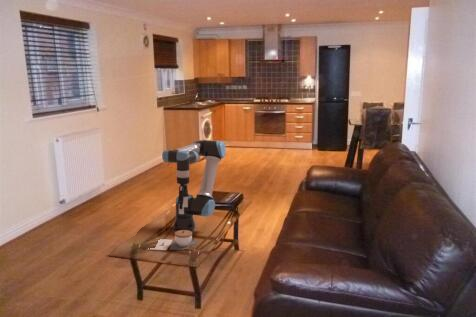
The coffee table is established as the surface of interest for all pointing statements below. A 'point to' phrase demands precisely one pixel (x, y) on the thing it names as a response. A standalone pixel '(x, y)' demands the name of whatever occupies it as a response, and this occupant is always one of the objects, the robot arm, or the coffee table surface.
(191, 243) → the mat
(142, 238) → the coffee table surface
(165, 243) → the card
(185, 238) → the lidded jar
